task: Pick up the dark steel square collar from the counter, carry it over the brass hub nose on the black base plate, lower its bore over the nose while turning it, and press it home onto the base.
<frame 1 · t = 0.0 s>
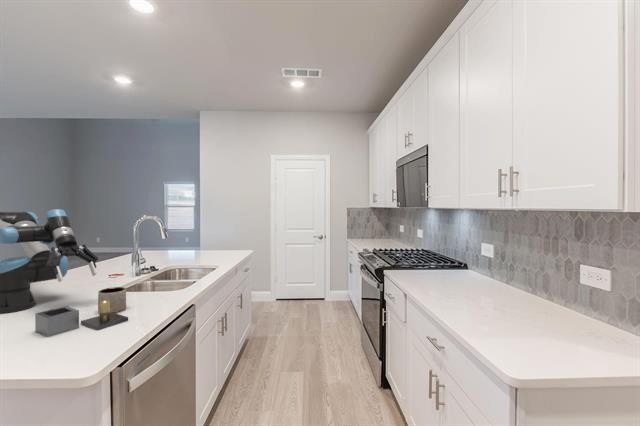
hand: (78, 277, 143), 15 cm above the counter, tool tilted 35°, fingers open, 13 cm apart
planter: (112, 310, 144), on the counter
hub: (104, 322, 129), on the counter
collar: (57, 329, 122), on the counter
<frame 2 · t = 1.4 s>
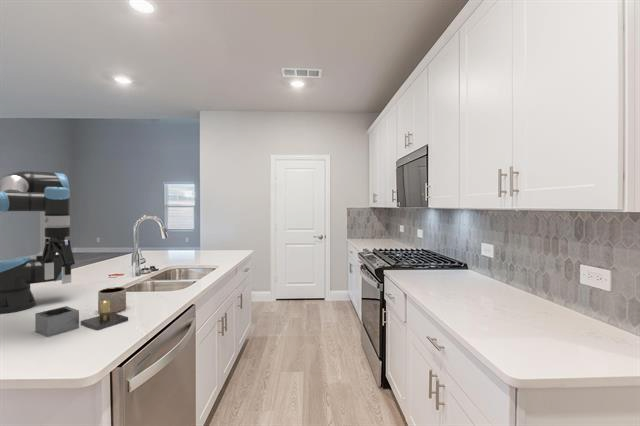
hand: (57, 281, 121), 19 cm above the counter, tool pointing down, fingers open, 13 cm apart
nothing on the counter moved.
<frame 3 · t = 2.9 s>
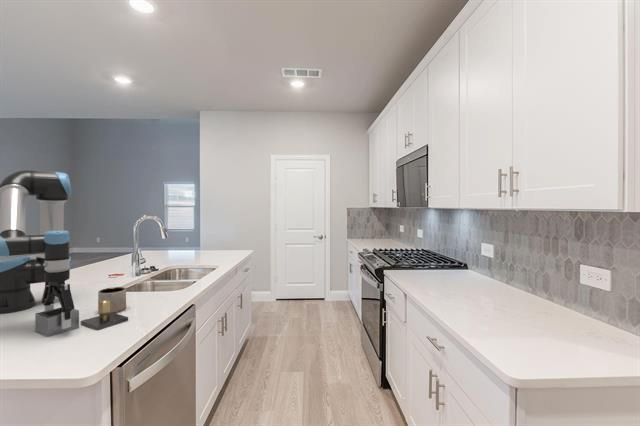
hand: (57, 324, 121), 2 cm above the counter, tool pointing down, fingers open, 13 cm apart
nothing on the counter moved.
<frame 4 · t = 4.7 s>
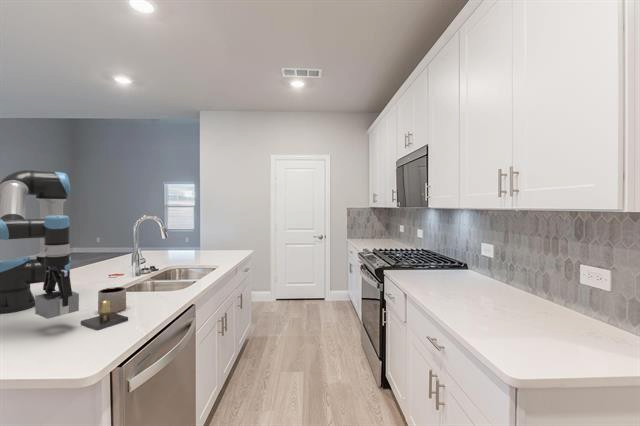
hand: (57, 311, 122), 7 cm above the counter, tool pointing down, fingers closed on collar, 10 cm apart
collar: (57, 312, 122), point 7 cm above the counter, touching gripper
everything else where it was.
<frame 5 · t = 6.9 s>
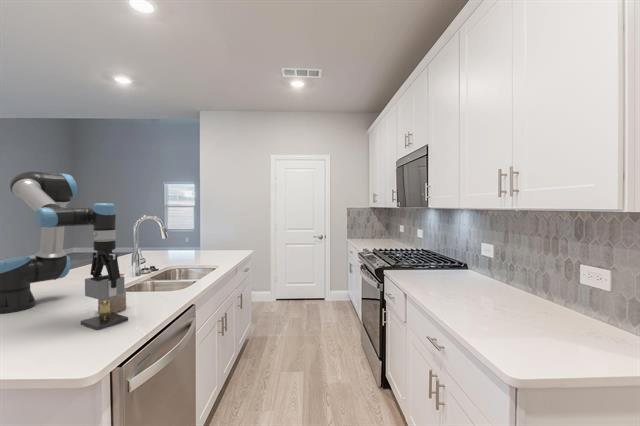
hand: (105, 293, 129), 12 cm above the counter, tool pointing down, fingers closed on collar, 10 cm apart
collar: (105, 294, 129), point 12 cm above the counter, touching gripper
everything else where it was.
when the fingers open (2 cm above the counter, at t = 9.3 s): collar stays where it is, resting on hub.
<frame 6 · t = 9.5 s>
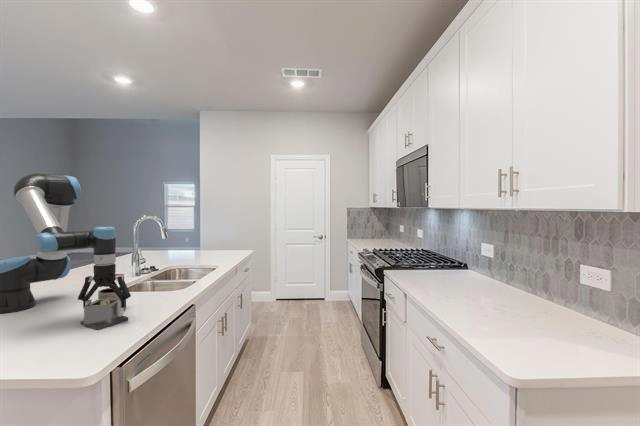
hand: (104, 315, 129), 3 cm above the counter, tool pointing down, fingers open, 12 cm apart
collar: (104, 319, 129), point 1 cm above the counter, touching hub
everything else where it was.
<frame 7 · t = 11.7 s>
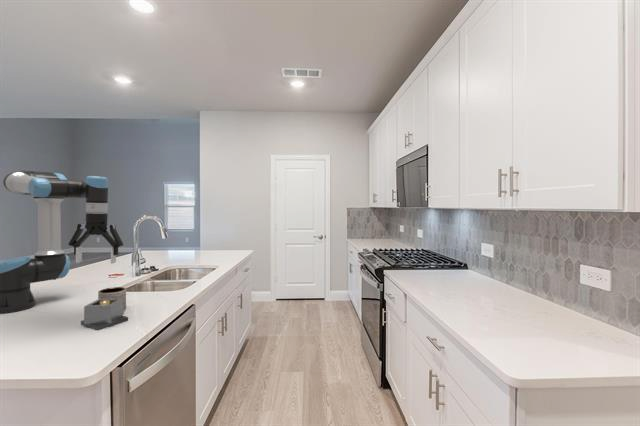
hand: (96, 262, 133), 24 cm above the counter, tool pointing down, fingers open, 13 cm apart
nothing on the counter moved.
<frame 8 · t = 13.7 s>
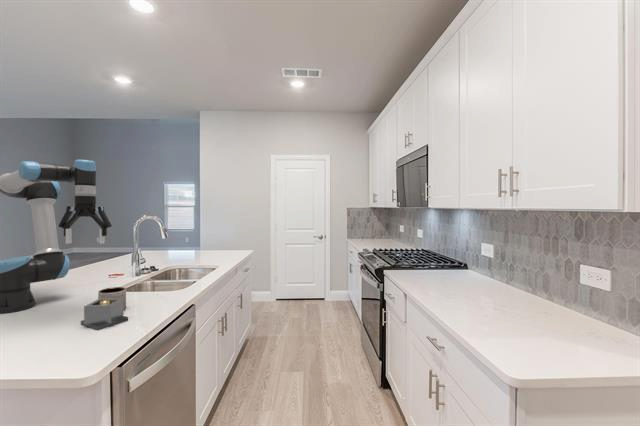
hand: (85, 243, 137), 32 cm above the counter, tool pointing down, fingers open, 13 cm apart
nothing on the counter moved.
at the end: collar 0.1 cm off-centre on the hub, point 1.5 cm above the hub's base; collar tilted 0°; the gripper is holding nothing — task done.
